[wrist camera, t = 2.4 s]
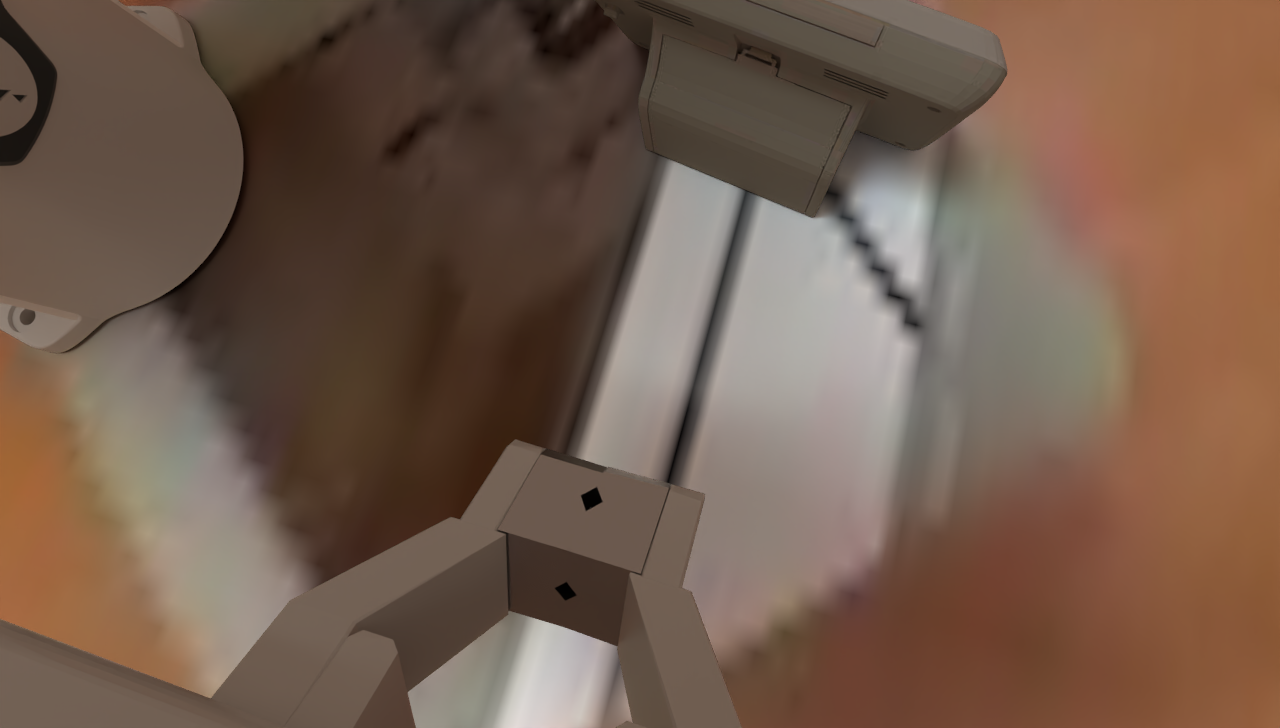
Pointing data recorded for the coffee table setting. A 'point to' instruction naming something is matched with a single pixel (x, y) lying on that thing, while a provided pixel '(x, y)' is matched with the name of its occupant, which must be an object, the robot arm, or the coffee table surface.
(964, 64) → the digital clock
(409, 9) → the coffee table surface
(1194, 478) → the coffee table surface
